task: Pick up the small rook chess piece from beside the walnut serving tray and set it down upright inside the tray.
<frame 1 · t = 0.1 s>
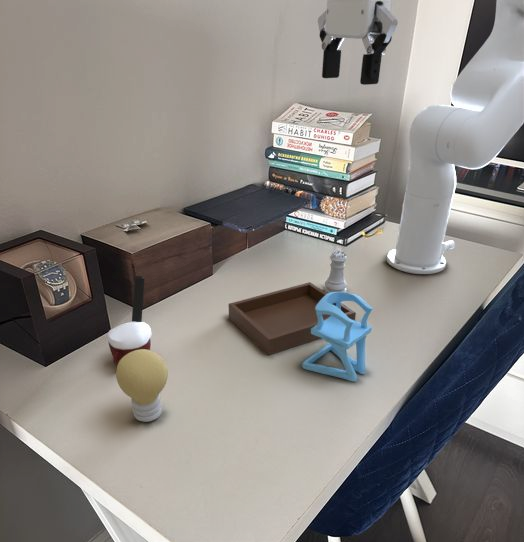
hand: (348, 80, 82), 37 cm above the table, tool pointing down, fingers open, 9 cm apart
light bulb: (148, 416, 69), on the table
tray: (290, 322, 90), on the table
rook chess piece: (334, 291, 101), on the table
cocoa: (134, 359, 80), on the table
chair: (337, 368, 79), on the table
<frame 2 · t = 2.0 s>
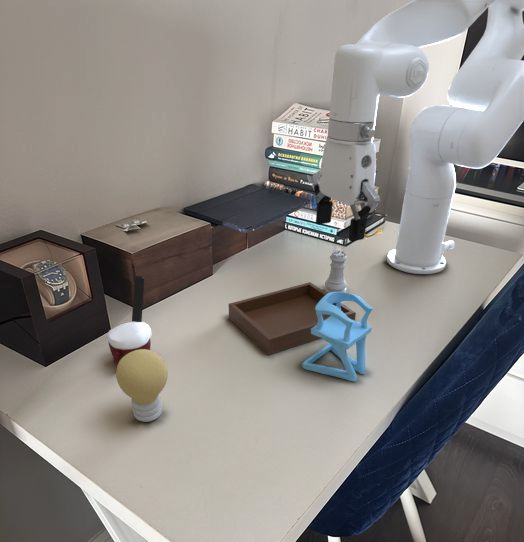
hand: (339, 231, 93), 12 cm above the table, tool pointing down, fingers open, 9 cm apart
nothing on the table moved.
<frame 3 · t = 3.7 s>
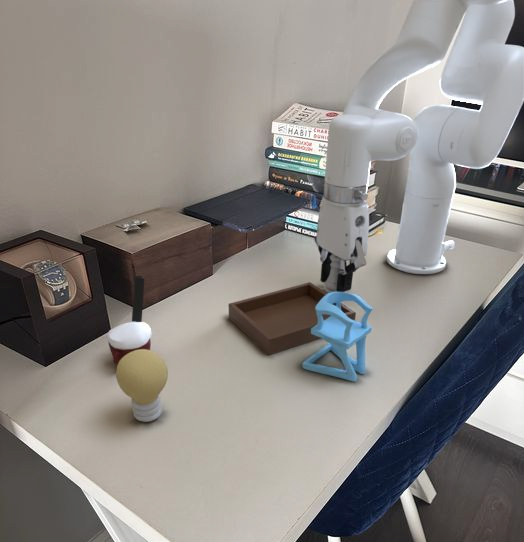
hand: (335, 284, 100), 1 cm above the table, tool pointing down, fingers closed on rook chess piece, 4 cm apart
rook chess piece: (334, 291, 101), on the table, touching gripper
everything else where it was.
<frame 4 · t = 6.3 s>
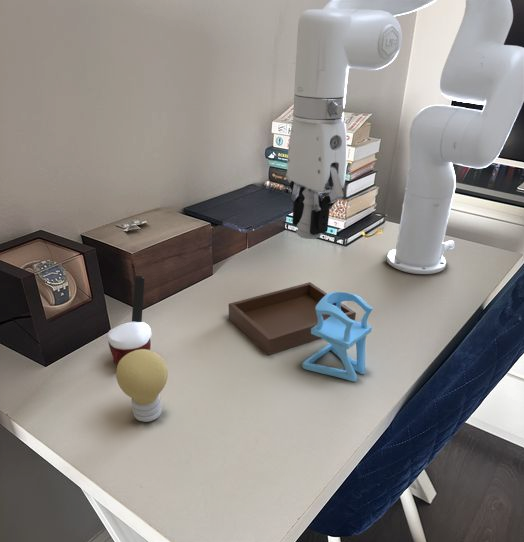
hand: (309, 227, 85), 16 cm above the table, tool pointing down, fingers closed on rook chess piece, 4 cm apart
rook chess piece: (308, 235, 86), point 14 cm above the table, touching gripper
everything else where it was.
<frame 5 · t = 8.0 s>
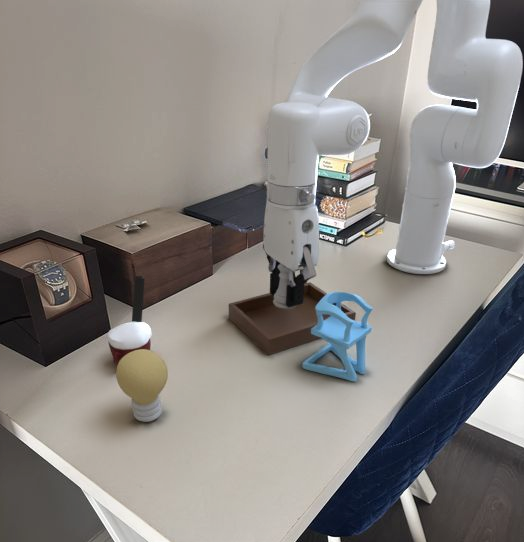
hand: (286, 297, 88), 5 cm above the table, tool pointing down, fingers closed on rook chess piece, 4 cm apart
rook chess piece: (285, 305, 89), point 3 cm above the table, touching gripper
everything else where it was.
when the fingers open (2 cm above the table, at t = 9.1 s): rook chess piece stays where it is, resting on tray.
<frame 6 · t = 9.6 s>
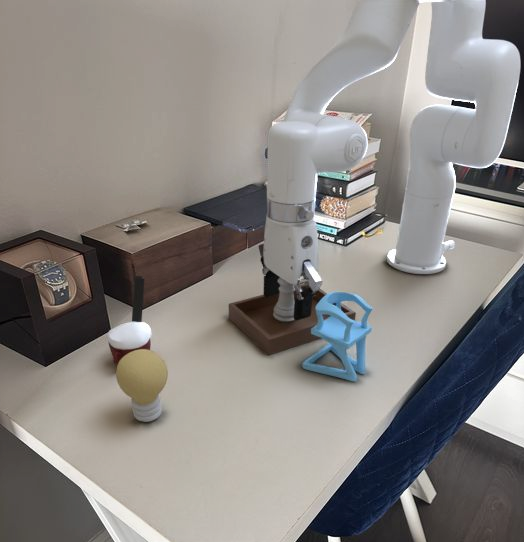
hand: (286, 305, 89), 3 cm above the table, tool pointing down, fingers open, 9 cm apart
rook chess piece: (285, 318, 90), point 1 cm above the table, touching tray
everything else where it was.
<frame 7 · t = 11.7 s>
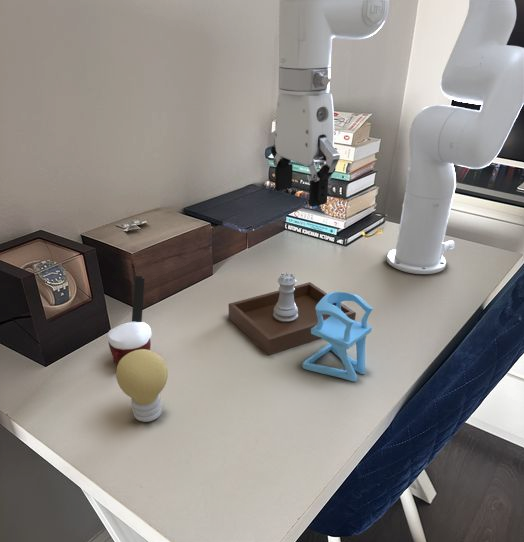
hand: (299, 196, 85), 20 cm above the table, tool pointing down, fingers open, 9 cm apart
nothing on the table moved.
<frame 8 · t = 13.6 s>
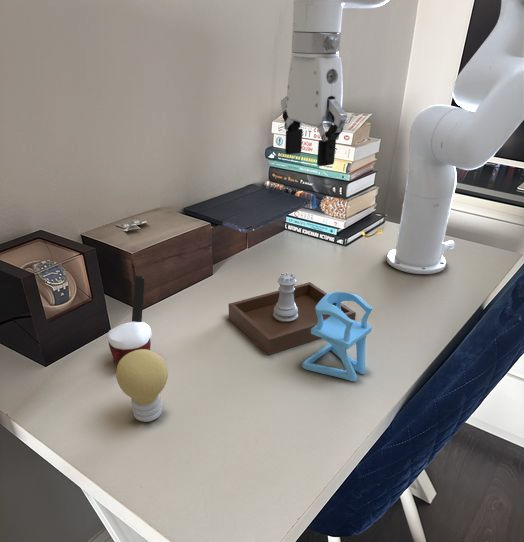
hand: (308, 158, 90), 24 cm above the table, tool pointing down, fingers open, 9 cm apart
nothing on the table moved.
at the end: rook chess piece inside the target area in the tray (1.1 cm from its centre), point 0.6 cm above the tray's base; rook chess piece tilted 0°; the gripper is holding nothing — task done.
